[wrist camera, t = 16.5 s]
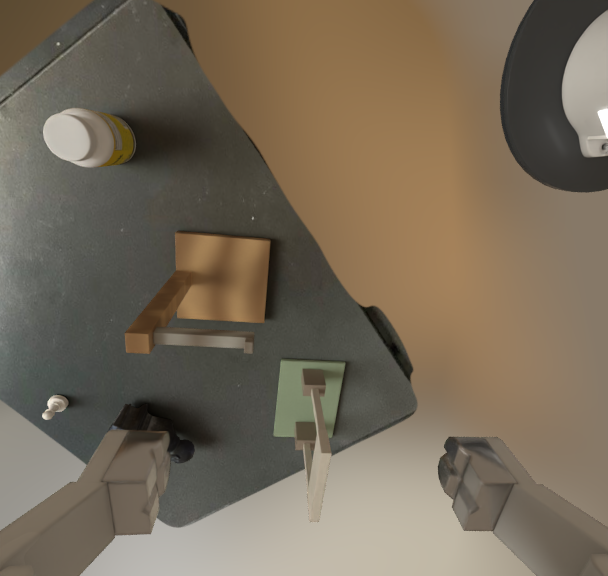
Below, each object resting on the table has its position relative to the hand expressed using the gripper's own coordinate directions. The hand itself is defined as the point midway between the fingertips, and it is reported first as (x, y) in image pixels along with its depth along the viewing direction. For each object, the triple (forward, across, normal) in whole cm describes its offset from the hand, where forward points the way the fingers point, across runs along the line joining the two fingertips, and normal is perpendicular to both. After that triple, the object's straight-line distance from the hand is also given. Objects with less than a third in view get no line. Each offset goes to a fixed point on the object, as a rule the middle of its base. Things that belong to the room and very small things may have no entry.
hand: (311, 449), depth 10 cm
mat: (+38, -6, +29) cm, 48 cm away
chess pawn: (+38, +32, +30) cm, 58 cm away
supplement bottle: (+38, +20, -7) cm, 43 cm away
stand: (+38, +8, +9) cm, 39 cm away
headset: (+37, -6, +29) cm, 47 cm away
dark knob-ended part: (+38, +18, +35) cm, 54 cm away
